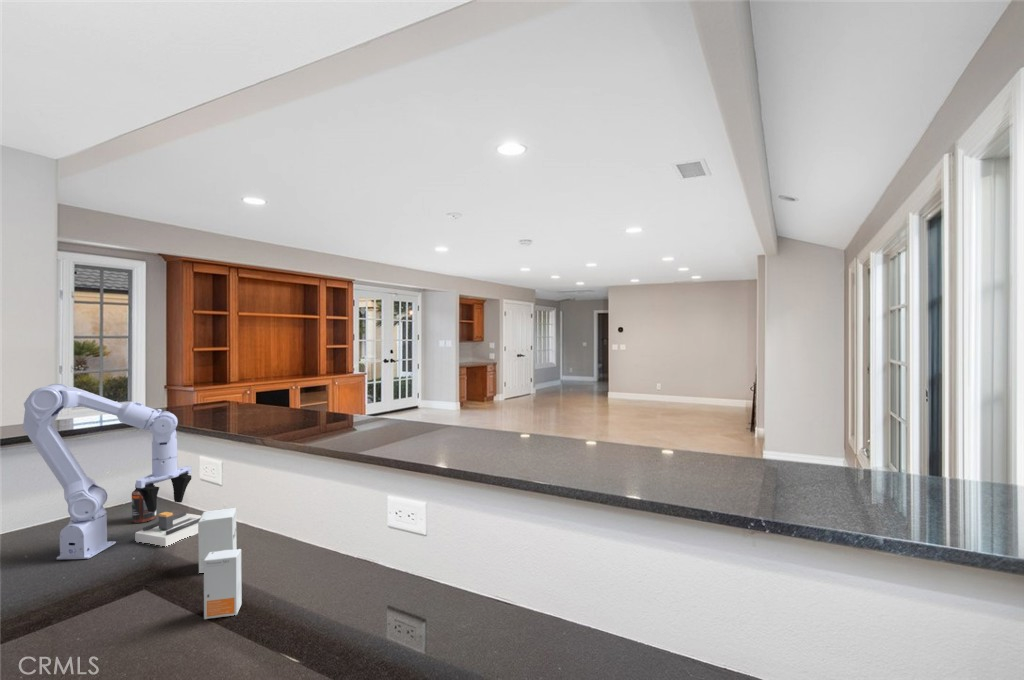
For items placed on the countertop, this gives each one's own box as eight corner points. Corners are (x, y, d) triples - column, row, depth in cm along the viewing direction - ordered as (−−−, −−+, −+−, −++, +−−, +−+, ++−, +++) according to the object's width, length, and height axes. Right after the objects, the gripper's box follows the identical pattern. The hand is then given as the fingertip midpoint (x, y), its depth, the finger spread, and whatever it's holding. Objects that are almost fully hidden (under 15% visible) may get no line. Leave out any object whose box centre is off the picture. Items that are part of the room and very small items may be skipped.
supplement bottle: (161, 516, 156) (160, 479, 156) (145, 524, 150) (144, 485, 150) (143, 515, 157) (142, 479, 157) (126, 523, 151) (126, 485, 151)
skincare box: (203, 620, 101) (202, 560, 100) (210, 609, 105) (208, 551, 105) (237, 615, 102) (236, 556, 102) (242, 604, 107) (241, 547, 106)
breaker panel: (165, 547, 134) (165, 534, 134) (135, 541, 138) (135, 529, 138) (214, 526, 149) (214, 514, 149) (186, 521, 152) (185, 510, 152)
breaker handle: (166, 529, 139) (166, 515, 139) (158, 528, 140) (158, 513, 140) (173, 527, 141) (172, 512, 141) (165, 526, 142) (164, 511, 142)
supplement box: (233, 569, 122) (232, 517, 122) (197, 575, 119) (196, 521, 119) (237, 556, 129) (236, 506, 129) (203, 561, 126) (202, 510, 126)
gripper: (149, 465, 132) (150, 517, 132) (199, 452, 146) (200, 499, 146) (129, 462, 134) (130, 514, 134) (180, 450, 148) (181, 497, 148)
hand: (165, 506), depth 140 cm, fingers open, 7 cm apart
